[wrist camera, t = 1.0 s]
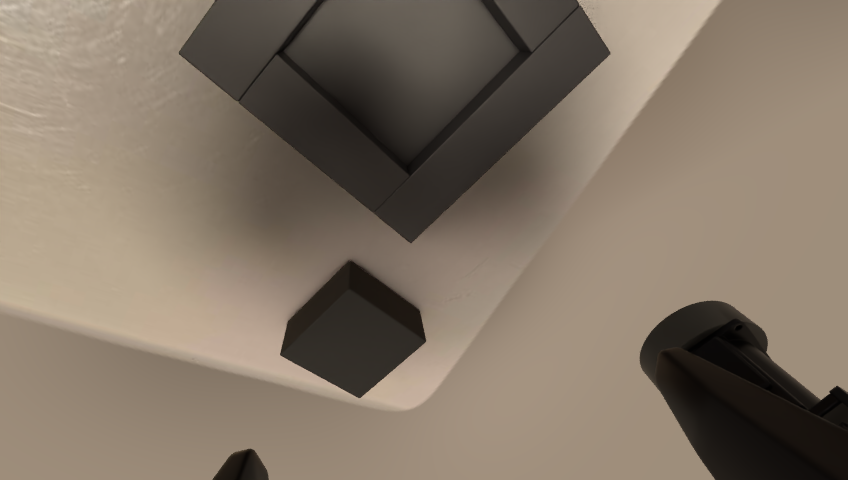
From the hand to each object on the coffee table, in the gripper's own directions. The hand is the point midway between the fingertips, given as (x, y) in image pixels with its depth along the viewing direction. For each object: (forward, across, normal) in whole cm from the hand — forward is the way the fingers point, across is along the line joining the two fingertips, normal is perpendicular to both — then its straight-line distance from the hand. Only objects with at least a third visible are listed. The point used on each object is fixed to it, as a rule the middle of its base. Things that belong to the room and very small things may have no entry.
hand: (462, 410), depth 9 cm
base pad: (+14, -1, -6) cm, 15 cm away
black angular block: (+14, +4, +7) cm, 16 cm away
